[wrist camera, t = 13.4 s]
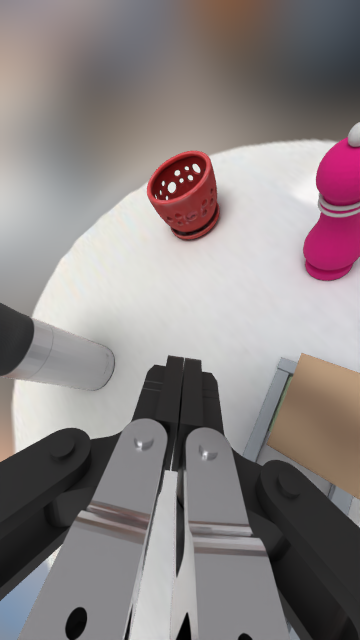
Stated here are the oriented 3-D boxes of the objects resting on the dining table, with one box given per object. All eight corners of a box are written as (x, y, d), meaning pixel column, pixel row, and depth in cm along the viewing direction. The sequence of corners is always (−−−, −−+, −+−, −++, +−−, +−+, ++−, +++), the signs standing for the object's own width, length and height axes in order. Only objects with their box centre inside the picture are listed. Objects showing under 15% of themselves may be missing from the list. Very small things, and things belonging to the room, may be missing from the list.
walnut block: (327, 464, 26) (359, 499, 14) (275, 434, 29) (266, 444, 17) (348, 399, 27) (393, 384, 16) (296, 378, 30) (301, 352, 19)
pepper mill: (291, 265, 37) (294, 141, 21) (328, 237, 36) (362, 85, 20) (326, 292, 33) (364, 166, 17) (369, 262, 33) (452, 97, 16)
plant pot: (168, 250, 51) (139, 209, 41) (176, 208, 56) (152, 162, 46) (224, 240, 46) (206, 189, 36) (227, 194, 50) (212, 138, 40)
